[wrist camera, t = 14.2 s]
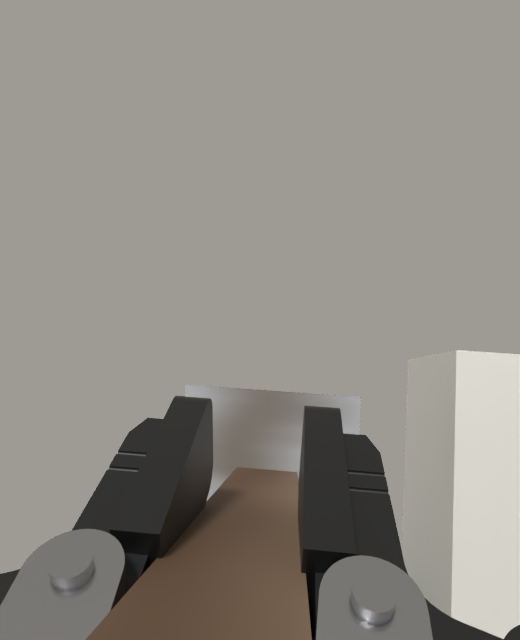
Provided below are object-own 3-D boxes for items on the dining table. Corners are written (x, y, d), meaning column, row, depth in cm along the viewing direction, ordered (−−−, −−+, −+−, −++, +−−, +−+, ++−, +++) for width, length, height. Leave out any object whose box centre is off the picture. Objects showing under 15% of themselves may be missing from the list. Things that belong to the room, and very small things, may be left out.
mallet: (336, 513, 21) (341, 399, 22) (641, 1224, 3) (596, 369, 4) (203, 501, 21) (213, 390, 22) (-289, 1040, 3) (-129, 321, 4)
